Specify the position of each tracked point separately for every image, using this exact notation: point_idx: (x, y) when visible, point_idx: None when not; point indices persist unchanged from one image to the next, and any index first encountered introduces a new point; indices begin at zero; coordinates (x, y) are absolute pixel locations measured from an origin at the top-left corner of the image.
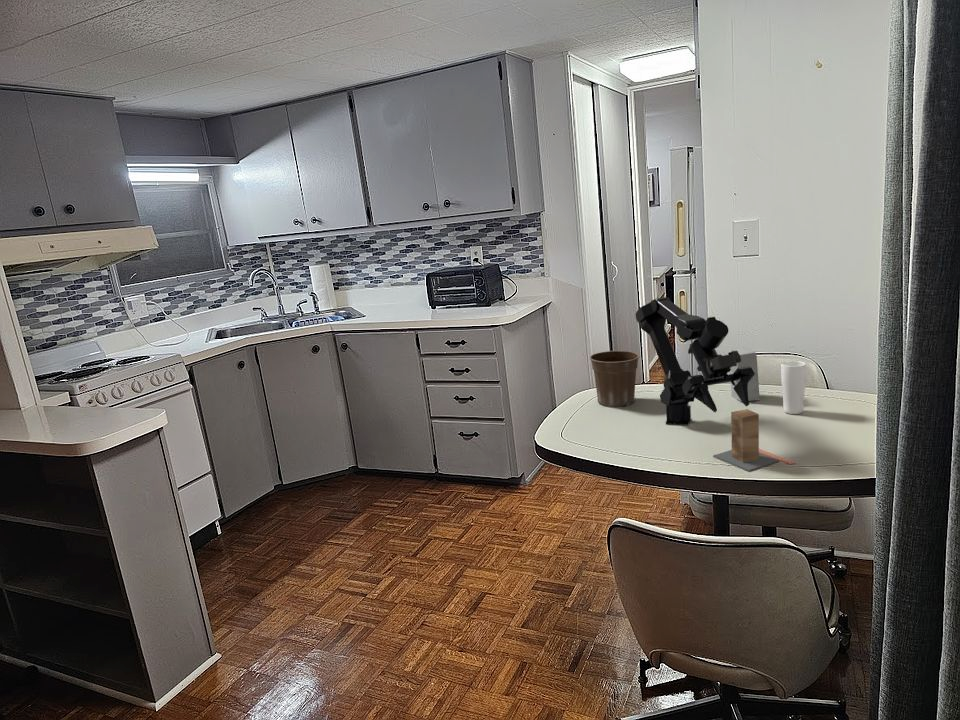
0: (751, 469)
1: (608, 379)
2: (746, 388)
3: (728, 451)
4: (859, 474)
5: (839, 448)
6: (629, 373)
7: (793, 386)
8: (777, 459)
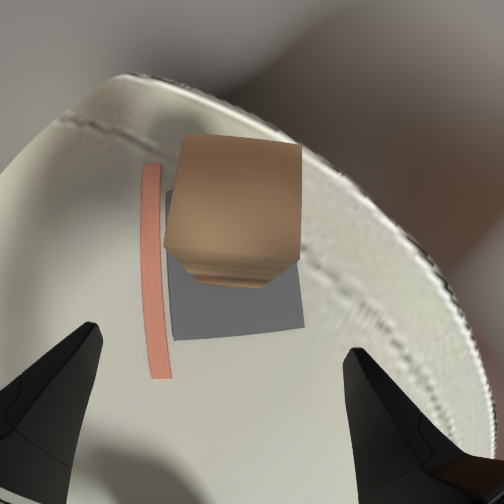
0: None
1: None
2: (4, 394)
3: (241, 329)
4: (109, 85)
5: (18, 194)
6: None
7: None
8: (159, 204)
